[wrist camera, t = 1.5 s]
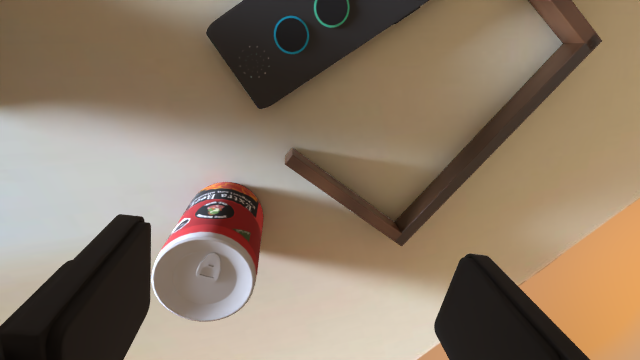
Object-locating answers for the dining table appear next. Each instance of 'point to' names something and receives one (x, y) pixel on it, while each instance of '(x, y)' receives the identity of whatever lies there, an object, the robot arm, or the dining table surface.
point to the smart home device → (297, 39)
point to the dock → (577, 45)
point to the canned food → (211, 255)
